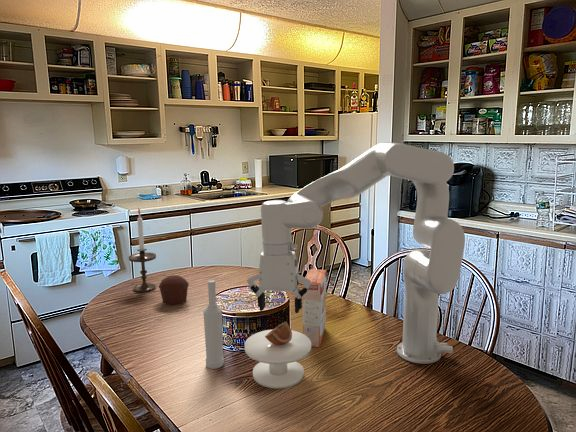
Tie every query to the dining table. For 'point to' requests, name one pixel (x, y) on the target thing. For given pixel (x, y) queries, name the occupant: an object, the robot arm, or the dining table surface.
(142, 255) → the candlestick
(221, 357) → the bottle
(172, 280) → the muffin
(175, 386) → the dining table surface
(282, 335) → the fruit slice
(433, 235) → the robot arm
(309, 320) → the cracker box
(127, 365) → the dining table surface
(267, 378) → the cake stand
